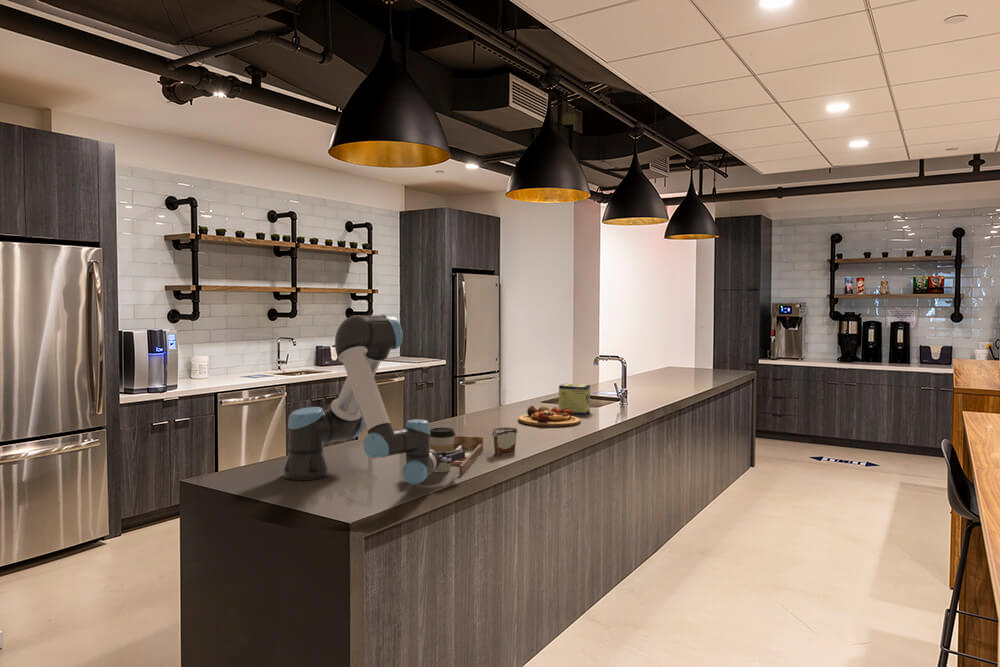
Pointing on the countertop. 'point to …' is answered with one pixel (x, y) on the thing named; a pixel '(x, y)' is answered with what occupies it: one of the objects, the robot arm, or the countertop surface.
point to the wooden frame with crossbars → (467, 450)
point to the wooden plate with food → (549, 417)
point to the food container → (504, 440)
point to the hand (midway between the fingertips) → (442, 448)
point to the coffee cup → (442, 444)
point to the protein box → (575, 398)
